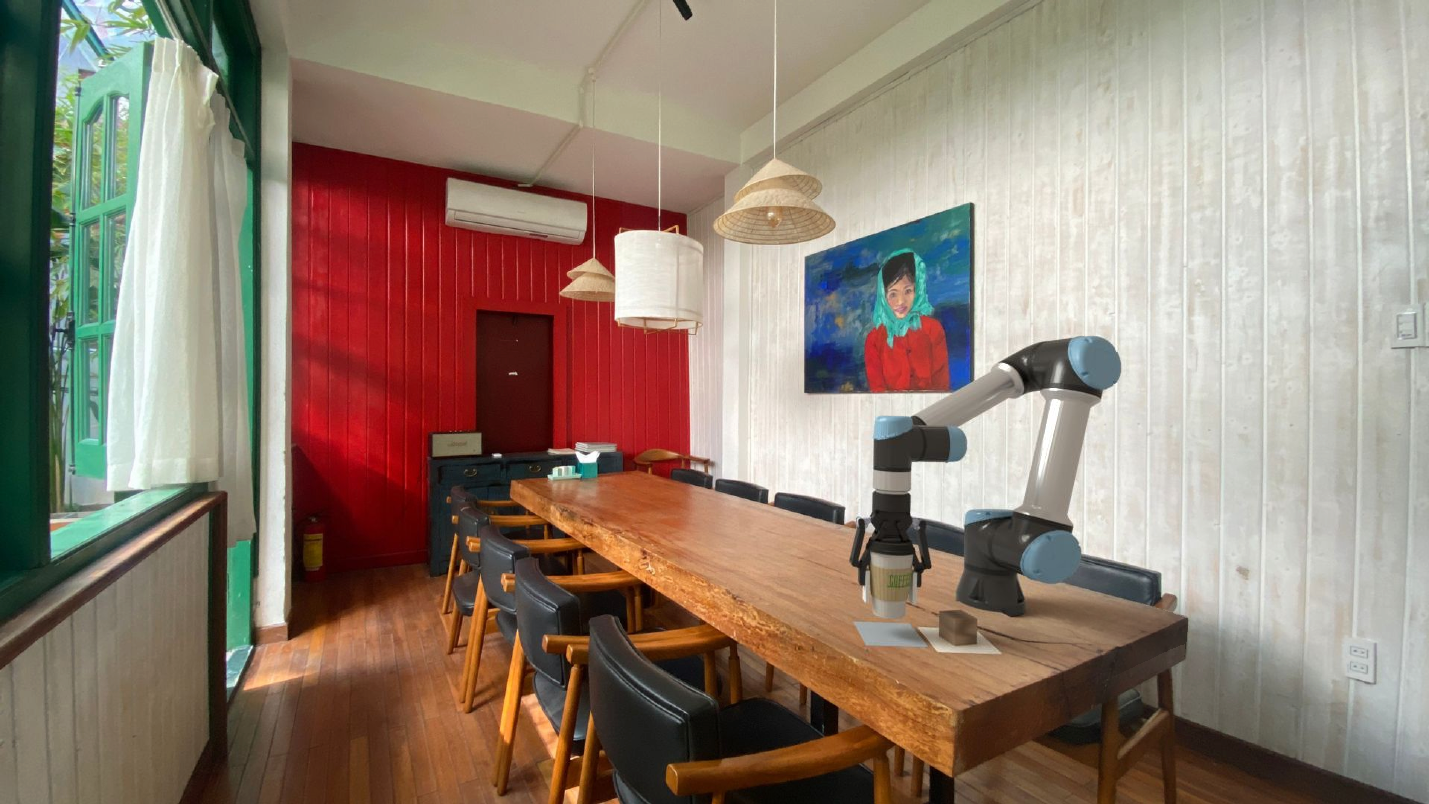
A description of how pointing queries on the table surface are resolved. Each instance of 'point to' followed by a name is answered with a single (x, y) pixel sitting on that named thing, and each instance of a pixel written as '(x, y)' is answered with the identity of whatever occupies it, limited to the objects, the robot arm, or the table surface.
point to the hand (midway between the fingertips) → (889, 601)
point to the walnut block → (958, 627)
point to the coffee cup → (890, 576)
